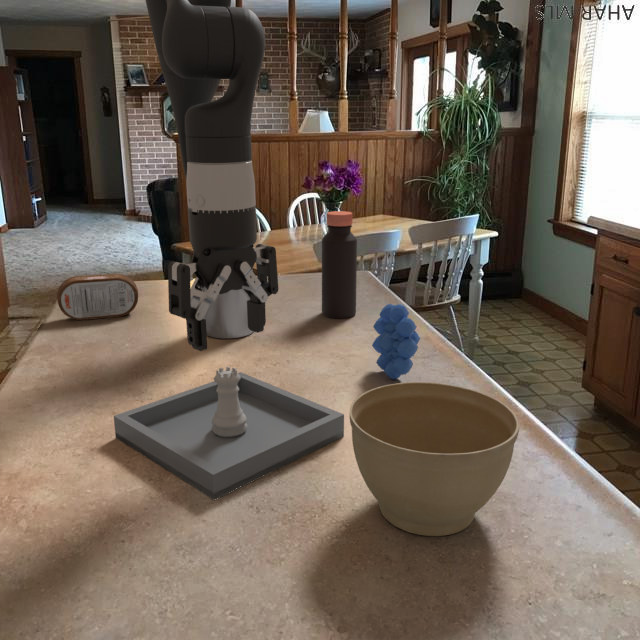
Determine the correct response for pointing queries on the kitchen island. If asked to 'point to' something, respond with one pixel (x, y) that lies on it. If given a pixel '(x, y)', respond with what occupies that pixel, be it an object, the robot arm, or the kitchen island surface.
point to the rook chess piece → (228, 405)
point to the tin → (97, 296)
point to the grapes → (395, 340)
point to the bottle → (339, 266)
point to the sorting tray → (228, 453)
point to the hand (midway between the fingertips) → (228, 339)
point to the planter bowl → (431, 452)
